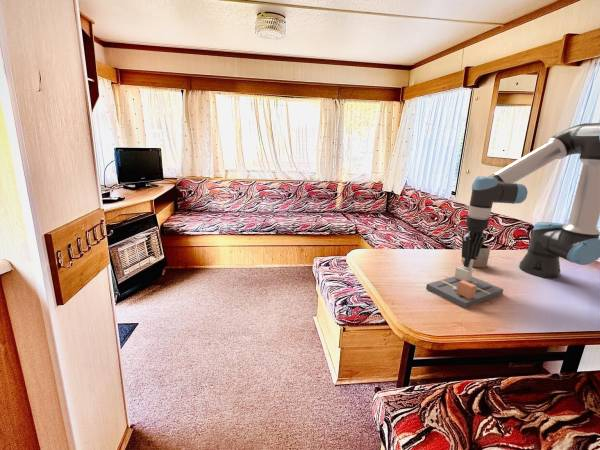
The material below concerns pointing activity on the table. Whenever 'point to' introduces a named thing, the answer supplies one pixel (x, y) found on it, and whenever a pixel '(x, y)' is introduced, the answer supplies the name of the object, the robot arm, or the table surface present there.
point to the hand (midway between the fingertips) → (466, 273)
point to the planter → (481, 257)
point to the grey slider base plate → (449, 289)
